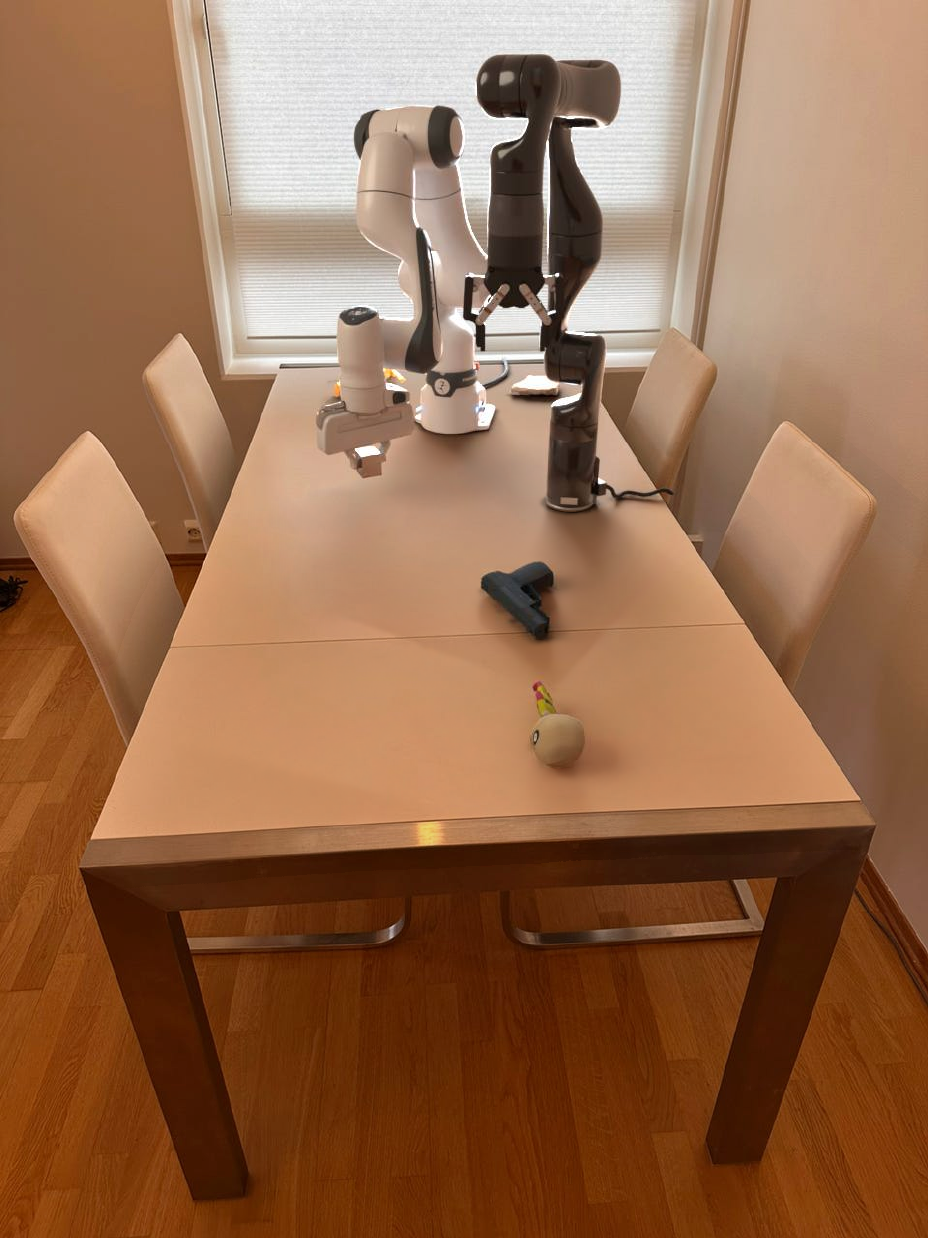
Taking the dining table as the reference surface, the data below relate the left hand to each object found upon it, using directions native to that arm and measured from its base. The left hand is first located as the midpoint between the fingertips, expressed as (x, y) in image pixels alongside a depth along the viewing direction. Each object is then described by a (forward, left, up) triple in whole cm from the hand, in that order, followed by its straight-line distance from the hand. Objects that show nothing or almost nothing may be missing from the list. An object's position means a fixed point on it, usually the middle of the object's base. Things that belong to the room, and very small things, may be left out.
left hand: (368, 464), depth 178 cm
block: (0, 0, -2) cm, 2 cm away
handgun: (+31, +44, -7) cm, 54 cm away
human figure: (-66, -32, -7) cm, 74 cm away
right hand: (+26, +37, +33) cm, 56 cm away
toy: (+62, +55, -7) cm, 83 cm away
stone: (-76, +13, -7) cm, 77 cm away
